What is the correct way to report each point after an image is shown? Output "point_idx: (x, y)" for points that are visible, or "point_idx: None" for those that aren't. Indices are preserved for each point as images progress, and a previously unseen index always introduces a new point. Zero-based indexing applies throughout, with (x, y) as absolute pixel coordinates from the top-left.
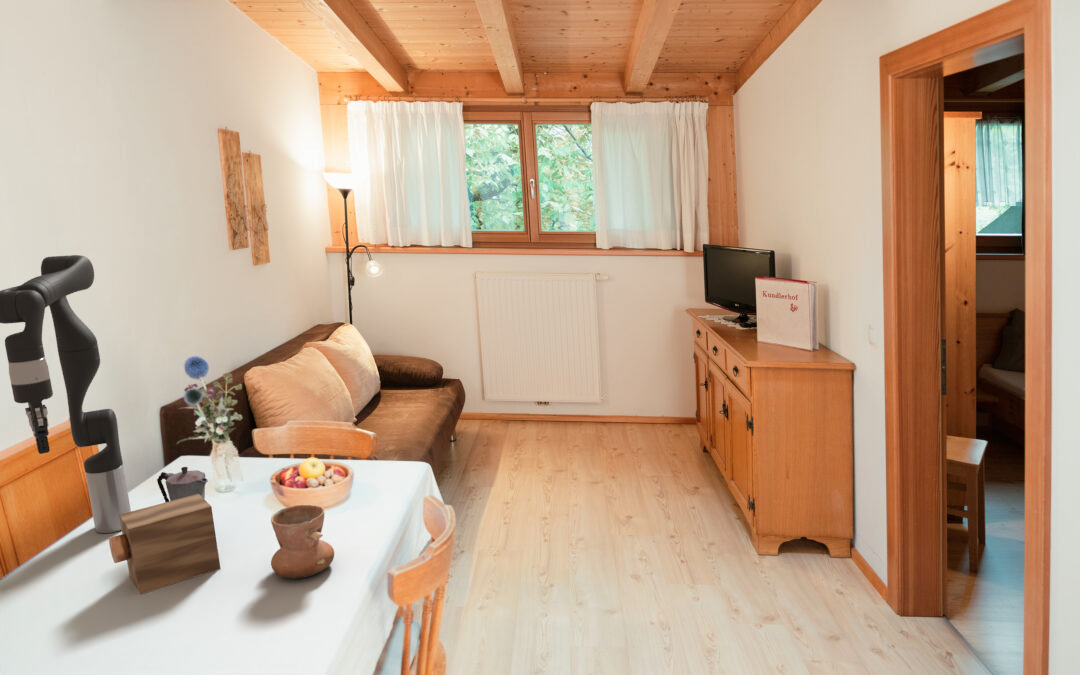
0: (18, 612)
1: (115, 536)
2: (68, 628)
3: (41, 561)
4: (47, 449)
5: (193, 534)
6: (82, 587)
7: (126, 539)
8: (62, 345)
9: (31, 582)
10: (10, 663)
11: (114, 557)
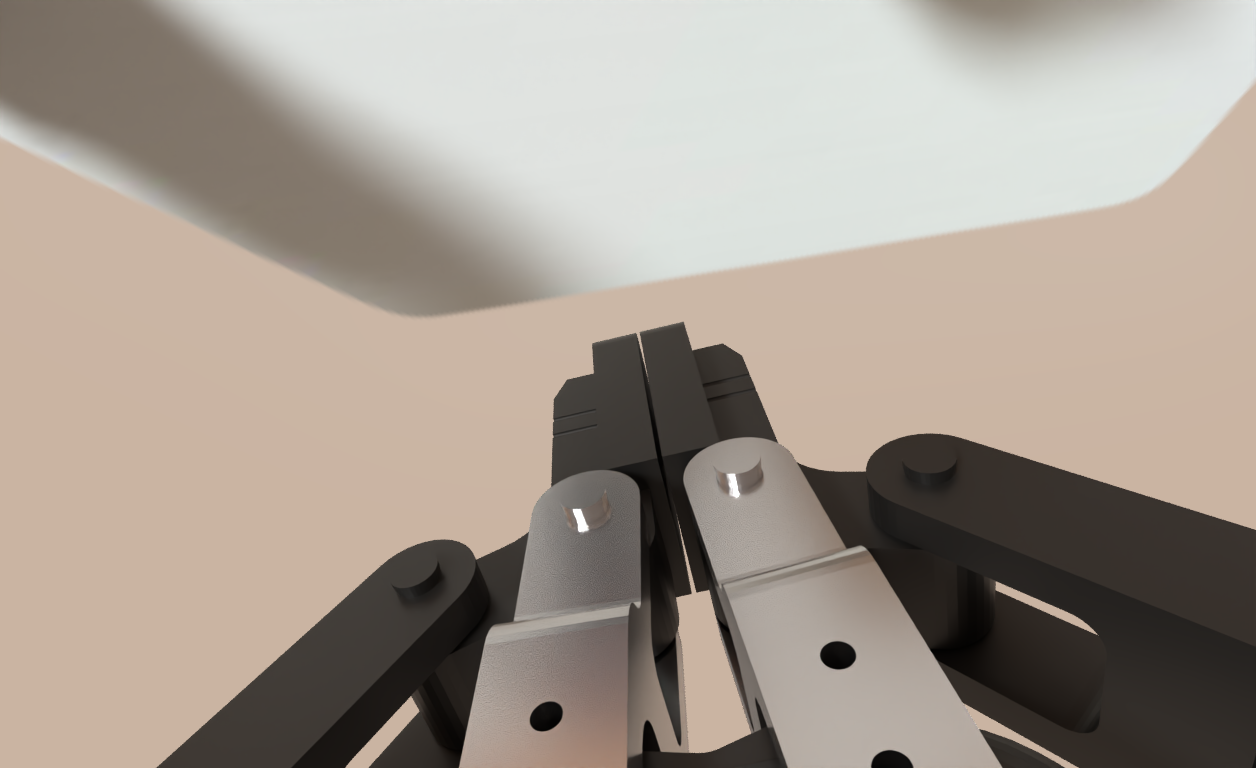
0: (749, 235)
1: None
2: (1024, 27)
3: (267, 225)
4: (730, 352)
5: None
6: (656, 7)
7: None
8: None
9: (486, 232)
10: (1136, 196)
11: None
